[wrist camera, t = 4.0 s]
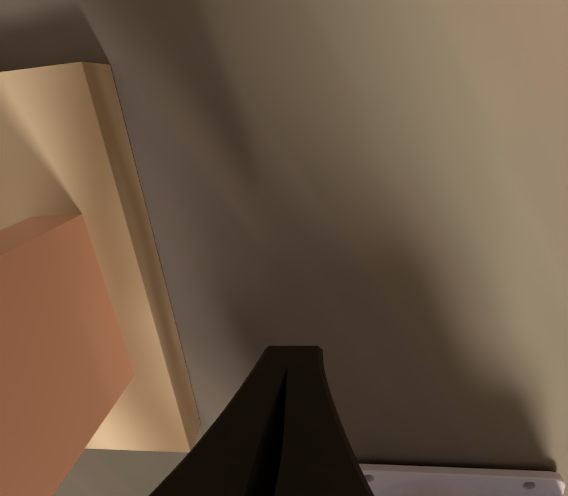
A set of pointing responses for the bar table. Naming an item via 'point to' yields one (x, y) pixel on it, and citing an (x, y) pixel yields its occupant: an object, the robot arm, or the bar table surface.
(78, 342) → the peach rectangular block
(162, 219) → the bar table surface
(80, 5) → the bar table surface
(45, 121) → the birch board
